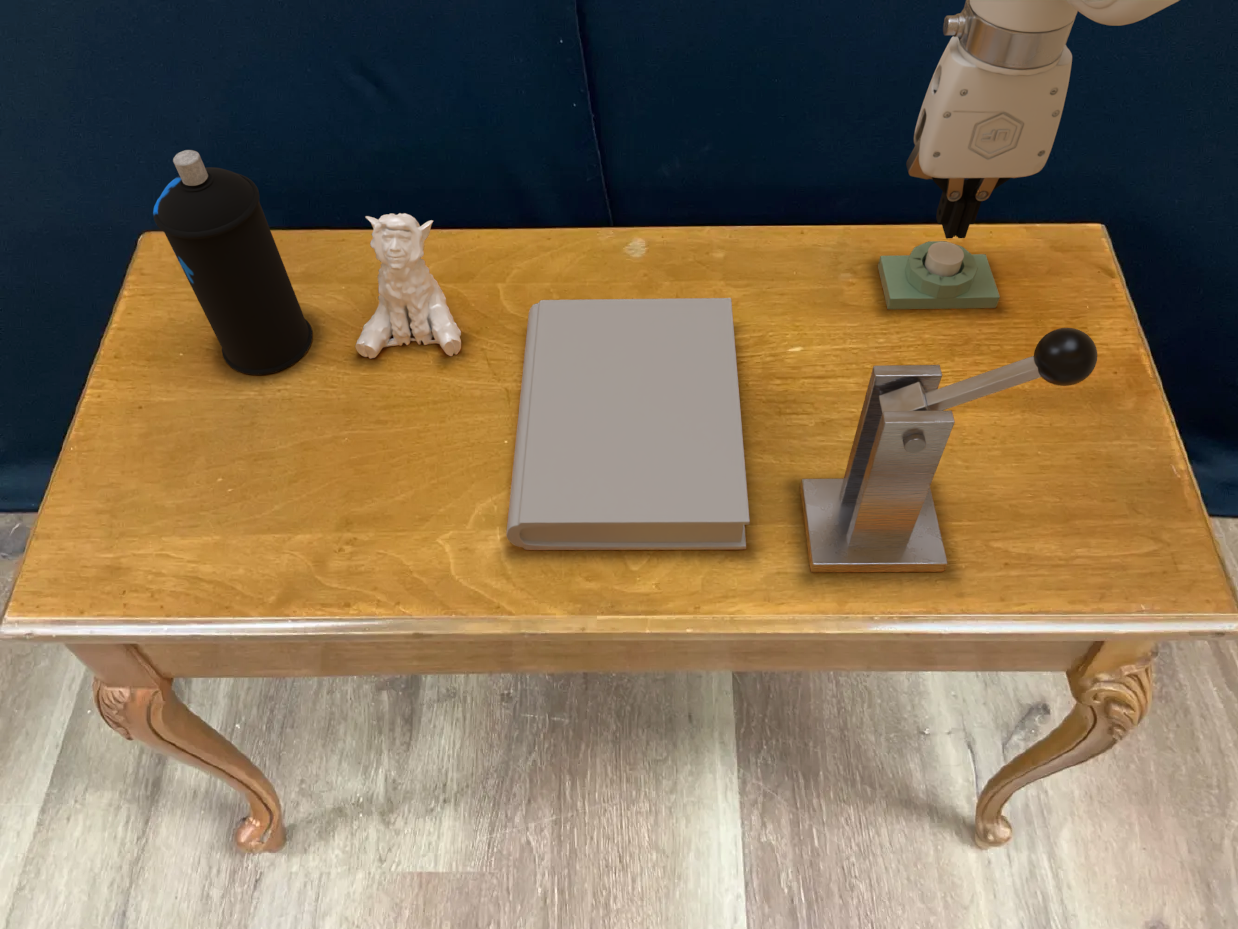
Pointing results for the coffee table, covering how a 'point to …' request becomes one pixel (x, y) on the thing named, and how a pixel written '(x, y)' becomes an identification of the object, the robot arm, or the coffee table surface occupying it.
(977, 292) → the green push button base
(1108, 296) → the coffee table surface
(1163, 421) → the coffee table surface
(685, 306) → the book
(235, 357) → the aerosol can
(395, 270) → the sitting furry creature
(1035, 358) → the lever with ball knob
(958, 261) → the beige push button
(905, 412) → the lever stand
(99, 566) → the coffee table surface
